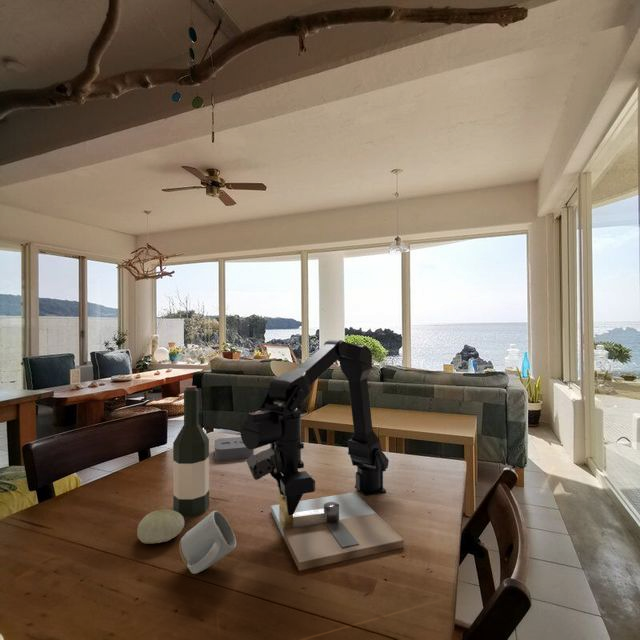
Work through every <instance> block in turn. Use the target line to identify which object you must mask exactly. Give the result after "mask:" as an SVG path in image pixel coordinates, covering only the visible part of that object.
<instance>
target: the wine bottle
mask: <svg viewBox="0 0 640 640" xmlns="http://www.w3.org/2000/svg"><path fill="white" fill-rule="evenodd" d="M182 425H183V426H182V427H181V429H180V430H179V432H178V434H177V436H176V437H175V439H174V441H173V442H172V444H173V445H172V451H173V452H172V453H173V454H172V457H173V458H172V459H173V460H172V463H173V464H172V469H173V470H172V473H173V474H172V476H173V477H172V478H173V480H172V482H173V488H172V489H173V490H172V494H173V495H172V496H173V503H172V504H173V508H172V510H174V511H176V512H178V513H180V514H181V515H182V516H183V518H188V517H189V518H192V517H193V518H194V517H195V516H198V515H202V514H203V513H206V512H207V510H208V509H209V507H210V439H209V437H208V436H207V434H206V433H205V431H204V429H203V428H202V426H201V425H200V424H199V389H198V388H197V386H196V385H188V386H185V389H184V390H183V424H182Z"/></svg>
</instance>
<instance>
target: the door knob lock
mask: <svg viewBox="0 0 640 640" xmlns="http://www.w3.org/2000/svg"><path fill="white" fill-rule="evenodd" d="M278 495H279V496H278V497H279V498H278V501H279V503H278V504H279V526H280V528H282V529H290V528H292V527H295V526H302V525H309V524H316V523H323V522H328V523H335V522H337V521H339V504H338V503H336V502H327V503H325V504H324V509H318V510H310V511H302V512H295V513H294V514H293V515H288V511H287V506H286V500H285V495H284V493H283V492H282V493H278Z"/></svg>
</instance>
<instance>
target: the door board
mask: <svg viewBox="0 0 640 640" xmlns="http://www.w3.org/2000/svg"><path fill="white" fill-rule="evenodd" d="M327 502H336V503H338V504H339V521H337V522H335V523H328V522H323V523H316V524H309V525H302V526H295V527H292V528H290V529H282V528H280V526H279V503H278V504H273V505H270V512H271V514H272V515H271V516H272V517H273V519H274V521H275V523H276V525H277V528H278V530H279V531H280V534H281V535H282V538H283V540H284V542H285V545H286V546H287V548H288V550H289V552H290V555H291V557H292V559H293V561H294V563H295V565H296V567H297V569H298V571H304V570H309V569H313V568H317V567H322V566H326V565H331V564H334V563H339V562H345V561H348V560H354V559H357V558H362V557H366V556H371V555H375V554H380V553H385V552H388V551H393V550H394V551H395V550H398V549H402V548H404V546H405V544H404V543H405V541H404V539H403V537H401V535H400V534H398V532H396V531H395V530H394V529H393V528H392V527H391V526H390V525H389V524H388V523H387V522H386V521H385V520H384V519H383V518H382V517H381V516H379V514H378V513H377V512H376V511H374V510H373V508H372V507H370V506H369V505H368V503H366V502H365V501H364V500H363V499H362V498H361V497H360V496H359V495H358V494H357V493H356V492H355V491H354V492H353V491H352V492H347V493H341V494H334V495H330V496H322V497H317V498H311V499H304V500H300V501H299V503H298V506H297V508H296V510H295V512H302V511H310V510H318V509H324V504H325V503H327ZM295 512H294V513H295Z"/></svg>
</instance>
